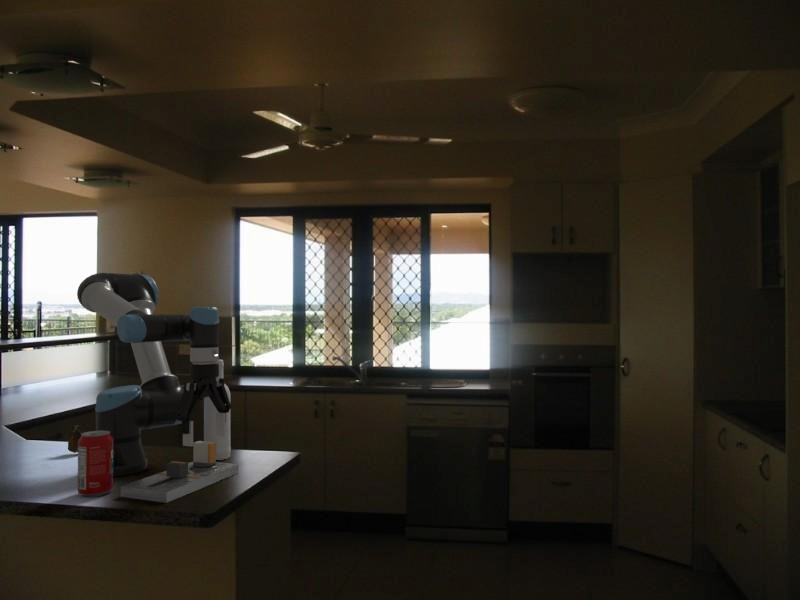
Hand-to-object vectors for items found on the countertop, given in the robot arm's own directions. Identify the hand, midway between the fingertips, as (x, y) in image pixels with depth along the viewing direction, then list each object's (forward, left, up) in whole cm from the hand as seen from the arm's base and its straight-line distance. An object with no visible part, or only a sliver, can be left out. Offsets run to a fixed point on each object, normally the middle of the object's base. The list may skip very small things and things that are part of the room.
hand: (204, 440), depth 168 cm
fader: (0, -11, -10) cm, 14 cm away
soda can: (-15, -22, -10) cm, 29 cm away
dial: (0, 0, -7) cm, 7 cm away
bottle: (-10, +19, -10) cm, 23 cm away
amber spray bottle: (-56, +7, -10) cm, 57 cm away
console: (0, -8, -10) cm, 13 cm away
